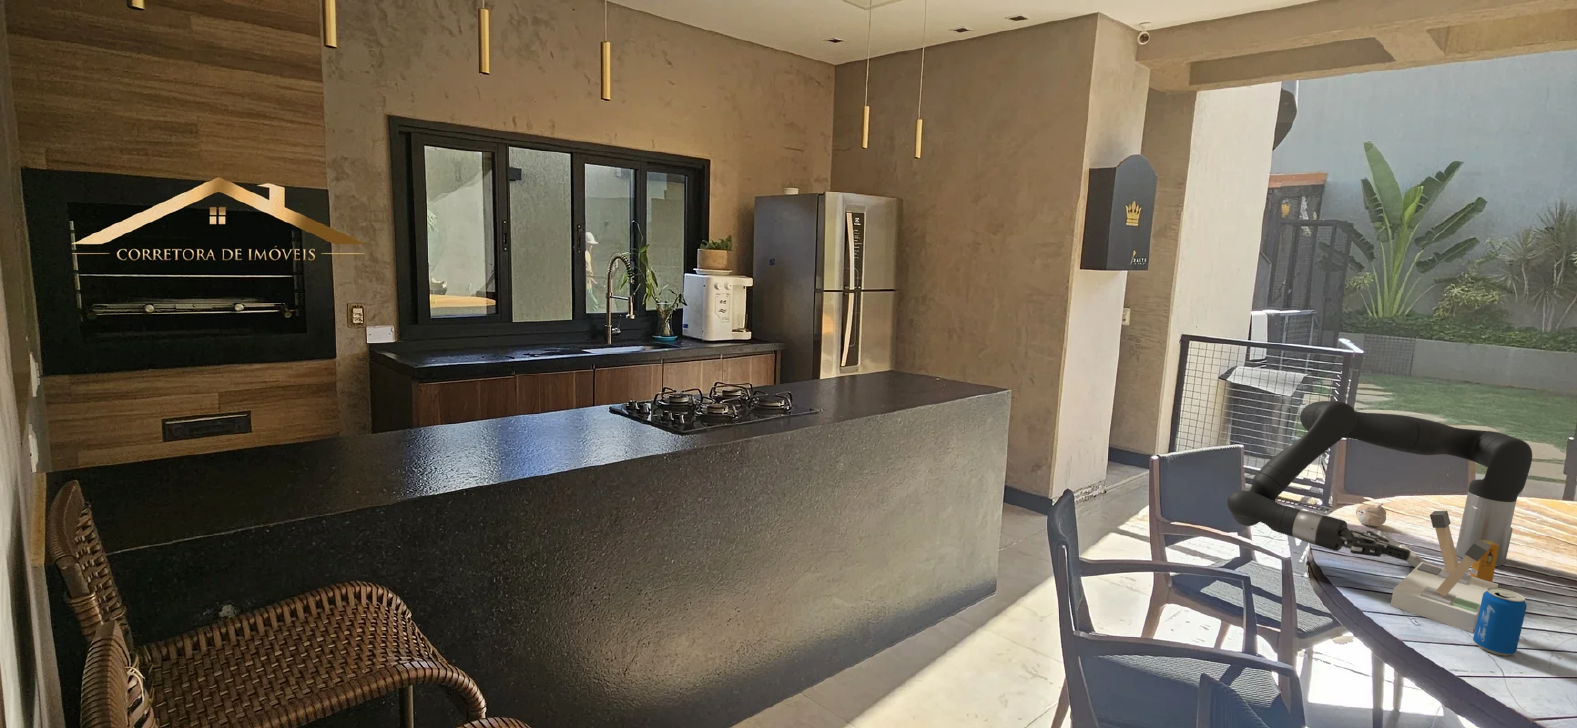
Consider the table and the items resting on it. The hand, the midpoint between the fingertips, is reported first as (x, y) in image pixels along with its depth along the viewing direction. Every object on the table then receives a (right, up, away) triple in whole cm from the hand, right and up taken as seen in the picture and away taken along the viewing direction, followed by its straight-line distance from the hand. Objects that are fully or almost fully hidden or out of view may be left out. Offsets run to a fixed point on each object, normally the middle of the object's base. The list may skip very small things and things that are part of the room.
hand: (1408, 555), depth 171 cm
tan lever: (+4, -7, -4) cm, 9 cm away
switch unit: (+10, -11, +3) cm, 15 cm away
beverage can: (+4, -15, -16) cm, 22 cm away
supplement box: (+29, -10, +15) cm, 34 cm away
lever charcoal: (+16, -5, +7) cm, 18 cm away
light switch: (+15, -8, +21) cm, 27 cm away
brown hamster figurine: (+28, -3, +48) cm, 56 cm away
